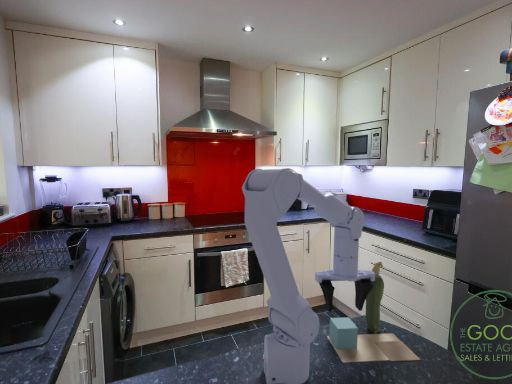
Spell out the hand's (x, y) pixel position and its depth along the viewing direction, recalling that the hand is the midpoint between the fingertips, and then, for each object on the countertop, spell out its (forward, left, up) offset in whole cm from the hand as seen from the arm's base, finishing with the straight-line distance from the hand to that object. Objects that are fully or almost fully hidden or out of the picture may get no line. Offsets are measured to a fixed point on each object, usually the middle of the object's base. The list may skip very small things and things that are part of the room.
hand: (343, 309), depth 66 cm
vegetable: (+11, +5, -10) cm, 16 cm away
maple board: (+6, -2, -10) cm, 11 cm away
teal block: (0, 0, -8) cm, 8 cm away
